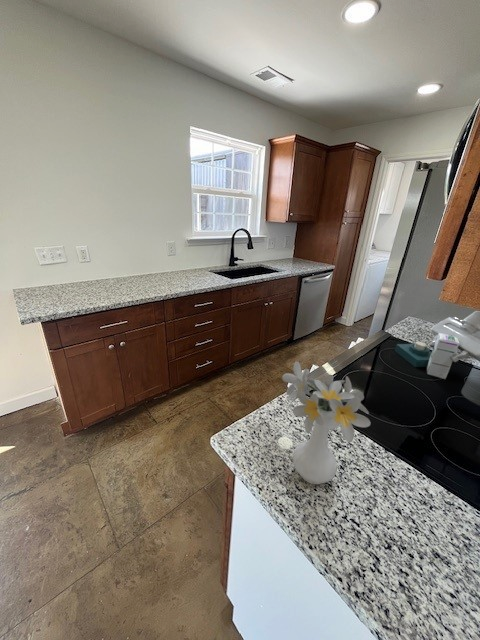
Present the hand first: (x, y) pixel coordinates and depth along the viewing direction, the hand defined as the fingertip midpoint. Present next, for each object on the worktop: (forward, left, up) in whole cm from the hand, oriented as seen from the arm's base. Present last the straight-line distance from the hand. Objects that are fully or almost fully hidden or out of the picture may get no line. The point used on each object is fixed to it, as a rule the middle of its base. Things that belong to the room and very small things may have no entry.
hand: (441, 353), depth 92 cm
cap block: (+10, -1, -8) cm, 13 cm away
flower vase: (-33, +59, -9) cm, 68 cm away
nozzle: (+10, -1, -4) cm, 11 cm away
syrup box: (0, -1, -9) cm, 9 cm away
